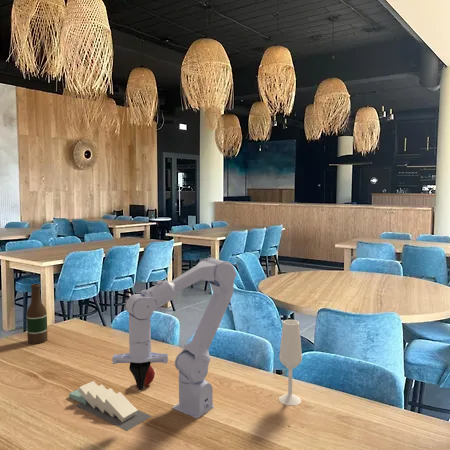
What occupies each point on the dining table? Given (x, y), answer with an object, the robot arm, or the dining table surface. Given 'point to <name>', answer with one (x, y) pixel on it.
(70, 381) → the dining table surface
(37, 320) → the beer bottle
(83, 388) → the domino
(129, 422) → the runner mat
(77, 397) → the domino
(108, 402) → the domino
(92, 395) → the domino
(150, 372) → the onion
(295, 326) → the champagne flute
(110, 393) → the domino
